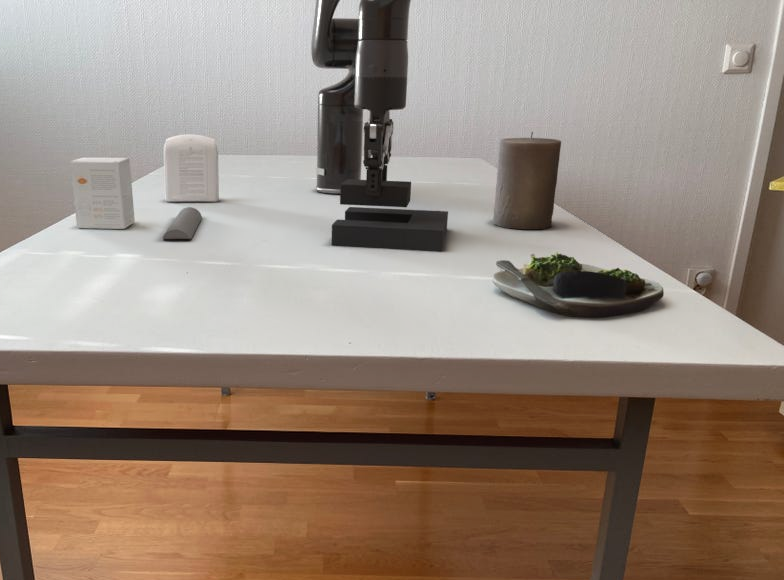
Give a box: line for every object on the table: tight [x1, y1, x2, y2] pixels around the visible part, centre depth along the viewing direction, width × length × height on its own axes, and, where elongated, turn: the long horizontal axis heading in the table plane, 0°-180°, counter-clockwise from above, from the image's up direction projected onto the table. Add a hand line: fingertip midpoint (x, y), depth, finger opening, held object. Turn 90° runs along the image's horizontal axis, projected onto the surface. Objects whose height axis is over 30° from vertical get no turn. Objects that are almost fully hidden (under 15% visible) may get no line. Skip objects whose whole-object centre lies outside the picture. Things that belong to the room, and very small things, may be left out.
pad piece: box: [339, 179, 412, 208], centre depth 118 cm, size 6×10×3 cm, turn 78°
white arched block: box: [163, 133, 220, 203], centre depth 147 cm, size 10×4×12 cm, turn 98°
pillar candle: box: [492, 131, 562, 230], centre depth 128 cm, size 10×10×15 cm
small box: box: [69, 156, 136, 230], centre depth 124 cm, size 8×6×10 cm
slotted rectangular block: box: [331, 206, 449, 252], centre depth 119 cm, size 16×16×3 cm
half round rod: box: [162, 206, 203, 240], centre depth 124 cm, size 4×20×2 cm, turn 2°
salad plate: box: [492, 251, 665, 318], centre depth 90 cm, size 19×18×5 cm
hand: (376, 192), depth 118 cm, fingers closed on pad piece, 6 cm apart
